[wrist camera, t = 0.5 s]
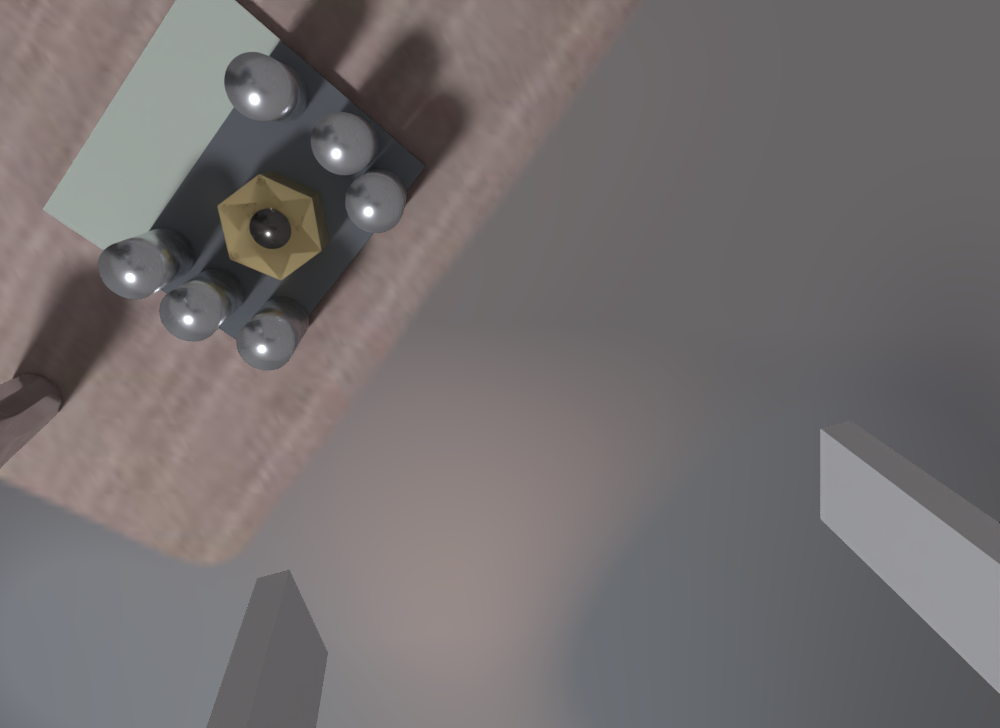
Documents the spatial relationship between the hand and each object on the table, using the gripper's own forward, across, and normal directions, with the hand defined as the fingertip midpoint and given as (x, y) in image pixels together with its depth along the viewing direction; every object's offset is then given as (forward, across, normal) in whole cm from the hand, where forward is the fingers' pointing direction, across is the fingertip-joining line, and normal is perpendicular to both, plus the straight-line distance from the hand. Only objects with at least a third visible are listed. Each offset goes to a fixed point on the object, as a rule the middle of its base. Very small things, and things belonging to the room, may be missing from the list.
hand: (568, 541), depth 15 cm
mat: (+27, -12, +9) cm, 31 cm away
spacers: (+26, -10, +6) cm, 29 cm away
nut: (+26, -10, +6) cm, 29 cm away
